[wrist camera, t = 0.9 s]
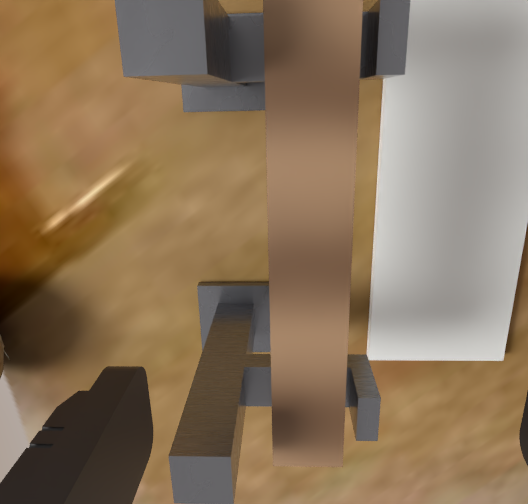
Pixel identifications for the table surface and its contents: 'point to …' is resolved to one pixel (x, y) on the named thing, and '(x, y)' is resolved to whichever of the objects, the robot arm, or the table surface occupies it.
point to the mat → (452, 184)
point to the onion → (2, 355)
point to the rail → (310, 219)
